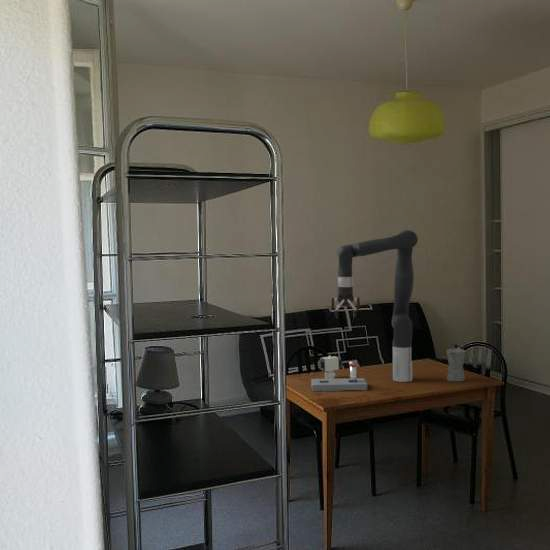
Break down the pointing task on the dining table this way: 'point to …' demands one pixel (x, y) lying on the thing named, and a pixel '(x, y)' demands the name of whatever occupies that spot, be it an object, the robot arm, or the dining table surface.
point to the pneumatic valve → (329, 365)
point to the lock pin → (353, 370)
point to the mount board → (338, 384)
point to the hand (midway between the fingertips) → (345, 317)
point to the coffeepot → (455, 364)
